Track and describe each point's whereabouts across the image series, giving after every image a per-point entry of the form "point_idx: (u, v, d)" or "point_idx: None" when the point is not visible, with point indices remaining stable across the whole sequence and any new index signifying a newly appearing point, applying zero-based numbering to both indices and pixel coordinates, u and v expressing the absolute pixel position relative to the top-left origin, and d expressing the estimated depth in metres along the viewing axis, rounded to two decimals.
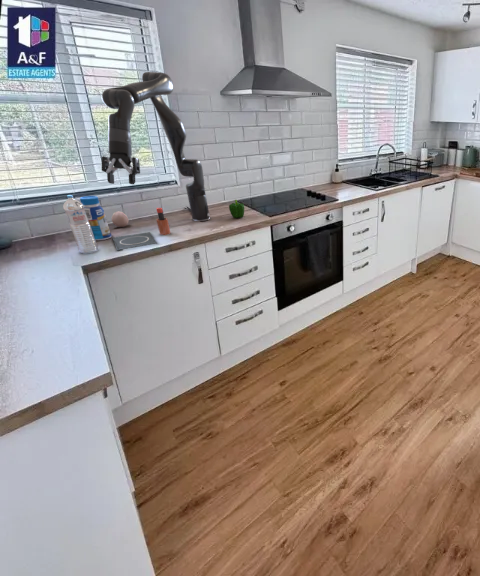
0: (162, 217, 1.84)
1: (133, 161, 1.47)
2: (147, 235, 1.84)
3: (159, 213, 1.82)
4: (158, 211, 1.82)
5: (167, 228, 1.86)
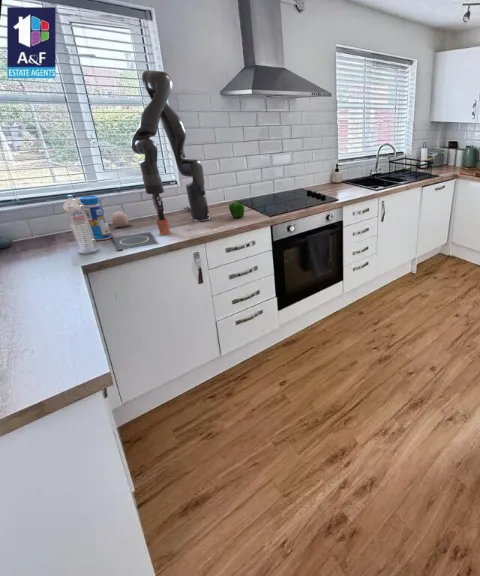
0: None
1: (156, 204, 1.76)
2: (147, 235, 1.84)
3: None
4: None
5: (167, 228, 1.86)
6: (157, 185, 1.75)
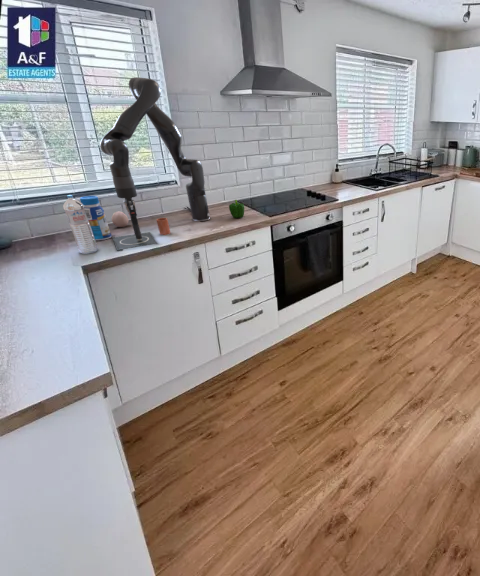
0: None
1: (128, 208, 1.65)
2: (147, 235, 1.84)
3: None
4: None
5: (167, 228, 1.86)
6: (129, 188, 1.64)
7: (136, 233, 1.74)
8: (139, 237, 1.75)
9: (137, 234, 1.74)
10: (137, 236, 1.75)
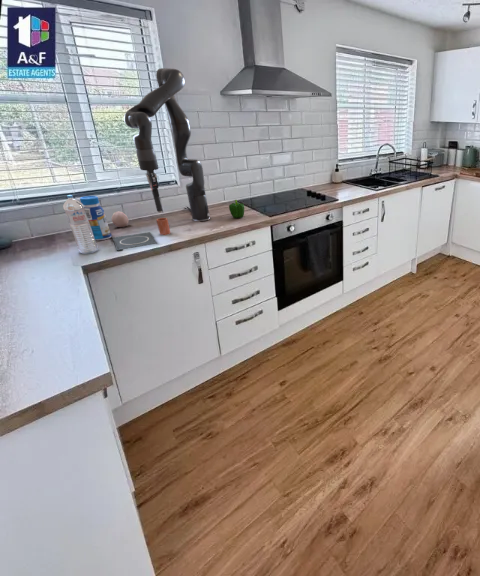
0: None
1: (151, 180, 1.71)
2: (147, 235, 1.84)
3: None
4: None
5: (167, 228, 1.86)
6: (151, 161, 1.70)
7: (157, 205, 1.80)
8: (160, 209, 1.82)
9: (158, 206, 1.81)
10: (158, 208, 1.81)
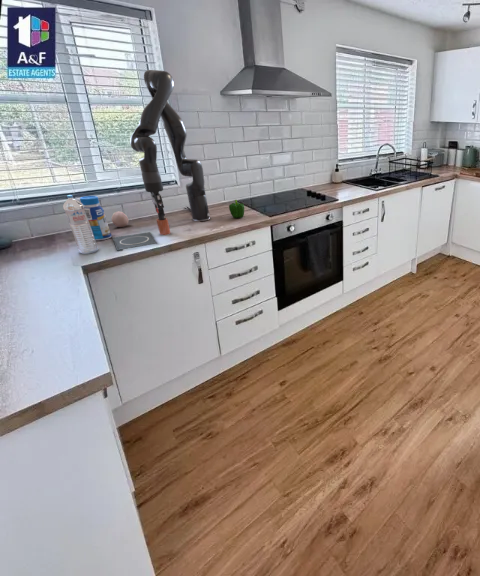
0: (162, 217, 1.83)
1: (155, 199, 1.75)
2: (147, 235, 1.84)
3: None
4: (158, 211, 1.82)
5: (167, 228, 1.86)
6: (156, 183, 1.75)
7: None
8: None
9: None
10: None
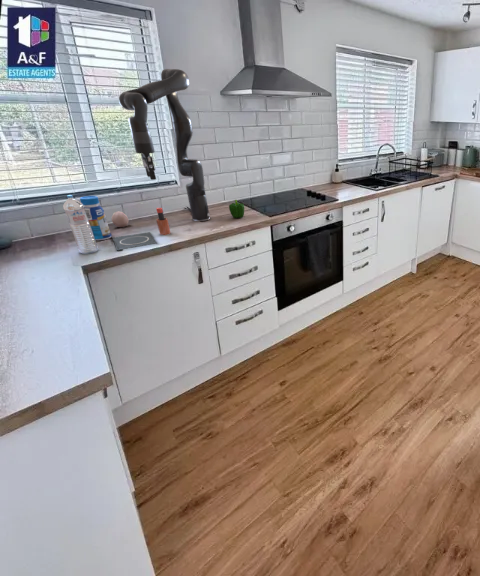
0: (162, 217, 1.83)
1: (146, 160, 1.67)
2: (147, 235, 1.84)
3: (159, 213, 1.82)
4: (158, 211, 1.82)
5: (167, 228, 1.86)
6: (147, 144, 1.67)
7: None
8: None
9: None
10: None
